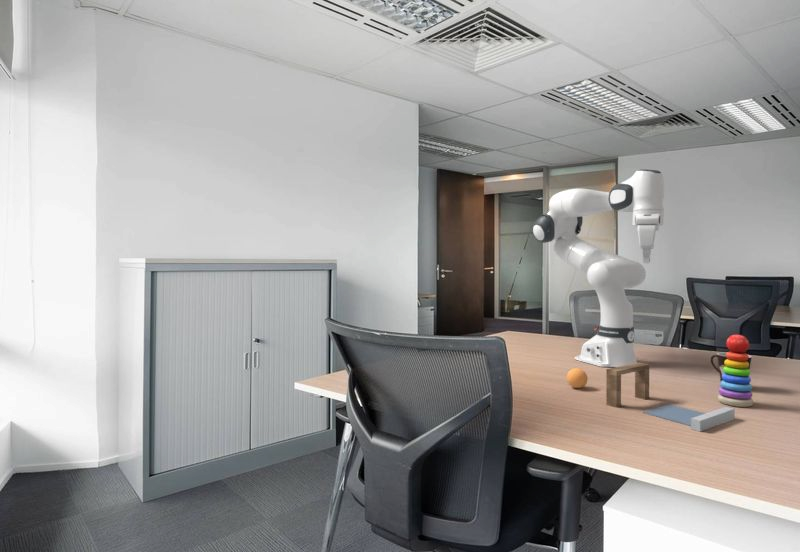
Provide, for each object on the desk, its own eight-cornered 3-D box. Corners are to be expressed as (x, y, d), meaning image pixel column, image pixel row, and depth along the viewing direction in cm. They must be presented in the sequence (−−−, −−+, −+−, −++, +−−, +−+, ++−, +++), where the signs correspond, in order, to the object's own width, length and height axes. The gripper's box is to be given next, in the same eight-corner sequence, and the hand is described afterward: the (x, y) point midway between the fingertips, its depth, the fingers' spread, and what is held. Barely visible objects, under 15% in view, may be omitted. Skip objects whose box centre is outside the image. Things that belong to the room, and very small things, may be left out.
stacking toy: (743, 409, 126) (744, 338, 125) (711, 401, 133) (712, 334, 132) (759, 405, 129) (760, 335, 129) (727, 397, 136) (728, 331, 136)
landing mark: (642, 412, 124) (642, 411, 124) (669, 404, 130) (669, 404, 130) (691, 426, 114) (691, 425, 114) (717, 417, 120) (717, 416, 120)
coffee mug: (757, 392, 141) (757, 358, 141) (724, 390, 143) (724, 357, 143) (737, 382, 153) (738, 350, 152) (707, 381, 154) (708, 350, 154)
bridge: (606, 404, 131) (606, 369, 131) (639, 395, 139) (639, 362, 139) (616, 407, 129) (616, 371, 128) (649, 398, 137) (649, 364, 136)
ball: (562, 387, 149) (562, 367, 149) (575, 384, 153) (575, 365, 152) (578, 391, 144) (578, 371, 144) (591, 388, 147) (591, 369, 147)
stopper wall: (691, 429, 112) (691, 418, 112) (725, 416, 120) (725, 406, 120) (700, 431, 110) (700, 420, 110) (734, 418, 118) (734, 408, 118)
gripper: (638, 222, 165) (636, 262, 166) (635, 218, 147) (634, 263, 148) (658, 221, 162) (657, 262, 163) (658, 217, 144) (657, 263, 145)
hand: (646, 263), depth 155 cm, fingers open, 8 cm apart
